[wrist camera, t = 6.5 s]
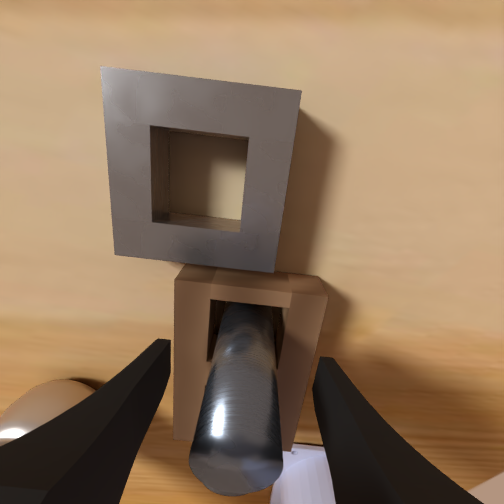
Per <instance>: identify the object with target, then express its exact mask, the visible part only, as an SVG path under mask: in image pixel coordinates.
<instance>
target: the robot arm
mask: <svg viewBox="0 0 504 504" xmlns="http://www.w3.org/2000/svg"><path fill="white" fill-rule="evenodd" d="M170 373H171V340H167V339H157V340H155V341H154V342H153V343H152V344H151V345H150V346H149V347H148V348H147V349H146V350H145V351H144V352H142V353H141V354H140V355H139V356H138V357H137V358H136V359H135V360H134V361H132V362H131V363H130V364H129V365H128V366H127V367H125V368H124V369H123V370H122V371H121V372H120V373H118V374H117V375H116V376H115V377H113V378H112V379H111V380H110V381H108V382H107V383H106V384H105V385H103V386H102V387H101V388H99V389H98V390H96V391H95V392H94V393H92V394H91V395H89V396H88V397H87V398H85V399H84V400H82V401H81V402H79V403H78V404H76V405H75V406H73V407H71V408H70V409H68V410H66V411H65V412H63V413H62V414H60V415H58V416H57V417H55V418H53V419H52V420H50V421H48V422H46V423H45V424H43V425H41V426H39V427H37V428H36V429H34V430H32V431H30V432H28V433H26V434H24V435H22V436H20V437H19V438H17V439H15V440H13V441H11V442H9V443H6V444H4V445H2V446H0V504H119V502H120V499H121V496H122V494H123V491H124V488H125V485H126V482H127V479H128V477H129V474H130V471H131V468H132V466H133V463H134V460H135V457H136V455H137V453H138V450H139V448H140V445H141V443H142V441H143V439H144V437H145V434H146V432H147V430H148V428H149V426H150V424H151V421H152V419H153V417H154V415H155V413H156V410H157V408H158V406H159V404H160V402H161V399H162V397H163V395H164V392H165V389H166V386H167V383H168V380H169V376H170ZM312 392H313V400H314V407H315V413H316V417H317V421H318V425H319V429H320V433H321V437H322V441H323V445H324V447H321V446H311V445H302V444H293V446H292V450H291V452H287V451H283V471H282V473H281V475H280V477H279V478H278V479H277V480H276V481H275V482H274V484H273V488H272V493H271V497H270V504H484V503H482V502H481V501H479V500H478V499H477V498H475V497H474V496H472V495H471V494H470V493H468V492H467V491H465V490H464V489H463V488H461V487H460V486H459V485H458V484H456V483H455V482H454V481H452V480H451V479H450V478H449V477H447V476H446V475H445V474H443V473H442V472H441V471H440V470H439V469H437V468H436V467H435V466H434V465H432V464H431V463H430V462H429V461H428V460H427V459H425V458H424V457H423V456H422V455H421V454H420V453H419V452H417V451H416V450H415V449H414V448H413V447H412V446H411V445H410V444H408V443H407V442H406V441H405V440H404V439H403V438H402V437H401V436H400V435H399V434H398V433H397V432H396V431H395V430H394V429H393V428H392V427H391V426H390V425H389V424H388V423H387V422H386V421H385V420H384V419H383V418H382V417H381V416H380V415H379V414H378V413H377V411H376V410H375V409H374V408H373V407H372V406H371V405H370V404H369V402H368V401H367V400H366V399H365V398H364V397H363V395H362V394H361V393H360V392H359V391H358V389H357V388H356V387H355V386H354V384H353V383H352V382H351V381H350V379H349V378H348V377H347V375H346V374H345V373H344V372H343V370H342V369H341V368H340V366H339V365H338V364H337V362H336V361H335V360H334V359H333V358H330V357H321V356H320V360H319V364H318V367H317V371H316V375H315V379H314V383H313V387H312Z"/></svg>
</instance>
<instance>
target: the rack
mask: <svg viewBox="0 0 504 504" xmlns="http://www.w3.org/2000/svg"><path fill="white" fill-rule="evenodd" d="M216 300H223V301H232V302H241V303H250V304H258V305H267V306H276V307H281V312H280V318H279V324H278V329H277V335H276V341H274V346H275V359H276V372H277V385H278V398H279V411H280V424H281V438H282V451H287V452H291V450H292V446H293V441H294V437H295V433H296V429H297V425H298V421H299V417H300V413H301V409H302V404H303V400H304V396H305V392H306V388H307V384H308V380H309V376H310V372H311V367H312V363H313V359H314V355H315V351H316V347H317V343H318V339H319V334H320V330H321V326H322V322H323V318H324V314H325V310H326V306H327V302H328V295H327V293H326V291H325V289H324V287H323V285H322V283H321V281H320V279H319V277H318V276H311V275H302V274H293V273H284V272H276V271H274V273H269V272H260V271H251V270H242V269H233V268H225V267H216V266H207V265H198V264H189V263H186V264H185V266H184V267H183V268H182V270H181V271H180V273H179V274H178V275H177V277H176V278H175V280H174V395H173V440H183V441H192V442H193V438H194V434H195V429H196V425H197V421H198V417H199V413H200V409H201V404H202V400H203V396H204V392H205V388H206V383H207V379H208V375H209V371H210V367H211V363H212V358H213V354H214V350H215V346H216V342H217V338H218V335H215V334H214V321H215V308H216ZM203 484H204V483H203ZM204 485H205V484H204ZM205 486H206V487H207V488H208V489H209V490H211V491H213V492H215V493H217V494H220V495H224V496H241V495H245V494H247V493H242V494H237V493H227V492H223V491H219V490H216V489H213V488H211V487H209V486H207V485H205Z"/></svg>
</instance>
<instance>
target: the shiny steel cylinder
mask: <svg viewBox="0 0 504 504" xmlns="http://www.w3.org/2000/svg"><path fill="white" fill-rule="evenodd" d="M189 465H190V468H191V470H192V472H193V474H194V475H195V476H196V477H197V478H198V479H199V480H200V481H201V482H202V483H204V484H205V485H207V486H209V487H211V488H213V489H216V490H219V491H223V492H227V493H237V494H242V493H251V492H256V491H259V490H262V489H265V488H267V487H269V486H270V485H272V484H273V483H274V482H275V481H276V480H277V479H278V478H279V477H280V475H281V473H282V471H283V451H282V438H281V424H280V411H279V398H278V385H277V372H276V359H275V346H274V333H273V320H272V307H271V306H267V305H258V304H250V303H241V302H232V301H226V304H225V308H224V312H223V317H222V321H221V325H220V329H219V333H218V338H217V342H216V346H215V350H214V354H213V358H212V363H211V367H210V371H209V375H208V379H207V383H206V388H205V392H204V396H203V400H202V404H201V409H200V413H199V417H198V421H197V425H196V429H195V434H194V438H193V442H192V446H191V450H190V455H189Z"/></svg>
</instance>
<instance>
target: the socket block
mask: <svg viewBox="0 0 504 504" xmlns="http://www.w3.org/2000/svg"><path fill="white" fill-rule="evenodd" d="M100 69H101V82H102V95H103V108H104V121H105V134H106V147H107V160H108V173H109V186H110V199H111V212H112V225H113V238H114V251H115V255H119V256H128V257H137V258H145V259H154V260H163V261H172V262H181V263H189V264H198V265H207V266H216V267H225V268H233V269H242V270H251V271H260V272H269V273H274V268H275V262H276V255H277V249H278V242H279V236H280V229H281V223H282V216H283V210H284V203H285V197H286V190H287V184H288V177H289V171H290V164H291V158H292V151H293V145H294V138H295V132H296V125H297V119H298V112H299V106H300V99H301V93H302V91H301V90H293V89H285V88H276V87H268V86H260V85H252V84H244V83H235V82H227V81H219V80H211V79H202V78H194V77H186V76H178V75H170V74H161V73H153V72H145V71H137V70H128V69H120V68H112V67H104V66H100ZM169 131H173V132H182V133H190V134H199V135H207V136H215V137H224V138H232V139H240V140H249V144H248V154H247V164H246V174H245V184H244V195H243V205H242V215H241V220H233V219H224V218H216V217H207V216H198V215H190V214H181V213H172V212H169Z"/></svg>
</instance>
